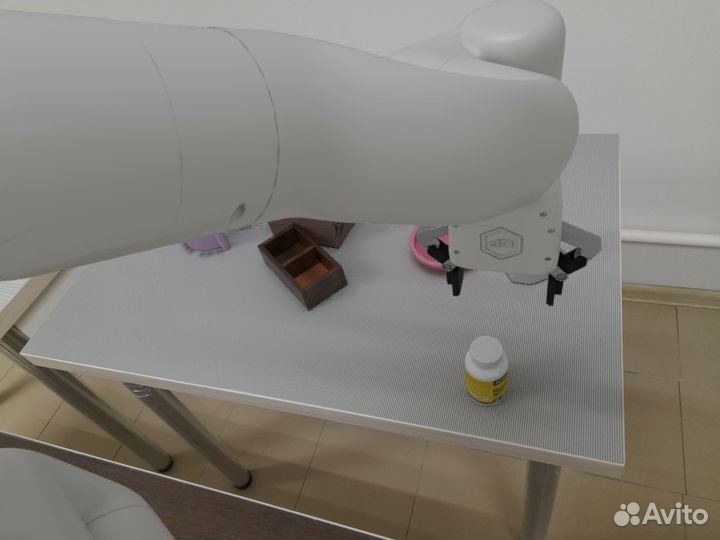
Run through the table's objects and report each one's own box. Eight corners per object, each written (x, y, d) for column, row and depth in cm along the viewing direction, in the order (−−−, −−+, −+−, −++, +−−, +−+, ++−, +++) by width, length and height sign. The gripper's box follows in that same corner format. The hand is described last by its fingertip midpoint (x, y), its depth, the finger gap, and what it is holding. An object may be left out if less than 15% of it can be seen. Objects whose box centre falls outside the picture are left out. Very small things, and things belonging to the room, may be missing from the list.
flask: (555, 282, 81) (561, 236, 73) (507, 287, 82) (509, 243, 74) (545, 249, 86) (550, 203, 78) (500, 254, 87) (500, 209, 79)
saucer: (456, 289, 83) (455, 276, 81) (397, 258, 90) (394, 245, 88) (499, 242, 88) (499, 228, 86) (440, 216, 95) (439, 203, 93)
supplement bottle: (497, 413, 68) (497, 374, 61) (459, 396, 71) (455, 357, 64) (513, 381, 71) (515, 340, 64) (476, 365, 74) (474, 324, 67)
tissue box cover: (332, 155, 115) (322, 115, 108) (392, 163, 109) (386, 121, 102) (272, 234, 100) (255, 193, 93) (338, 247, 94) (325, 205, 87)
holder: (308, 311, 86) (301, 293, 83) (265, 263, 96) (257, 245, 93) (347, 284, 89) (342, 266, 85) (301, 240, 98) (294, 222, 95)
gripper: (396, 186, 45) (417, 309, 57) (620, 195, 39) (589, 328, 51) (415, 135, 49) (430, 259, 62) (617, 136, 44) (590, 272, 56)
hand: (503, 290), depth 56 cm, fingers open, 9 cm apart
